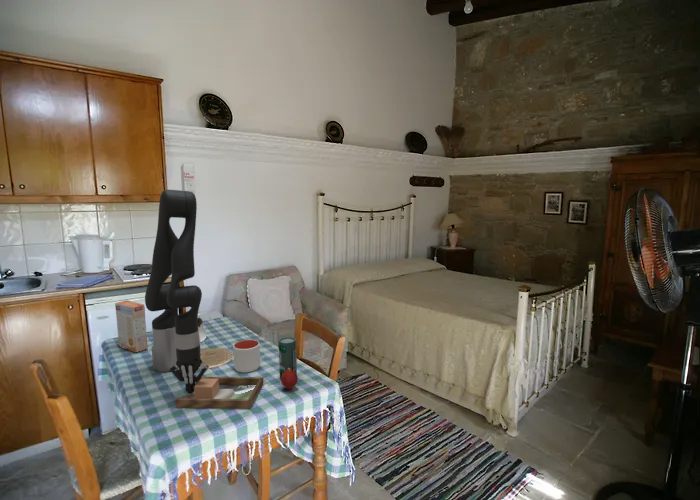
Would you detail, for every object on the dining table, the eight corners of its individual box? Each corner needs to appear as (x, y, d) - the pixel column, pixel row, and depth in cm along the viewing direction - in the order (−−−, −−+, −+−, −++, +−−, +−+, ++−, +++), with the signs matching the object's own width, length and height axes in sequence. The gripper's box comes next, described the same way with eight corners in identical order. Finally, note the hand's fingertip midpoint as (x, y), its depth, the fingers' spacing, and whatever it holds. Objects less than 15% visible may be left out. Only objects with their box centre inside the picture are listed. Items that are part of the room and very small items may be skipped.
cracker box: (148, 349, 172) (145, 304, 169) (135, 353, 167) (131, 307, 164) (131, 342, 180) (128, 299, 177) (118, 347, 175) (114, 302, 172)
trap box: (175, 408, 124) (175, 399, 124) (196, 384, 140) (196, 376, 140) (250, 409, 123) (250, 401, 123) (263, 385, 139) (263, 377, 139)
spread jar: (191, 334, 190) (190, 311, 189) (213, 335, 189) (211, 312, 187) (177, 343, 179) (175, 319, 177) (200, 344, 177) (198, 320, 175)
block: (195, 399, 129) (194, 387, 128) (202, 390, 135) (201, 378, 134) (212, 399, 129) (211, 387, 128) (219, 390, 135) (218, 378, 134)
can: (282, 374, 147) (280, 337, 145) (297, 374, 147) (296, 337, 145) (278, 382, 141) (277, 343, 139) (295, 382, 141) (294, 343, 139)
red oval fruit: (282, 385, 139) (281, 364, 138) (298, 384, 139) (297, 363, 138) (280, 393, 133) (279, 371, 132) (297, 392, 134) (296, 371, 133)
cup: (253, 375, 147) (252, 350, 146) (229, 372, 149) (228, 348, 148) (264, 363, 157) (263, 340, 155) (241, 361, 159) (240, 338, 157)
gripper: (162, 348, 126) (166, 397, 128) (202, 349, 125) (205, 398, 128) (174, 339, 133) (177, 386, 136) (211, 340, 133) (214, 387, 135)
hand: (191, 392), depth 132 cm, fingers closed
